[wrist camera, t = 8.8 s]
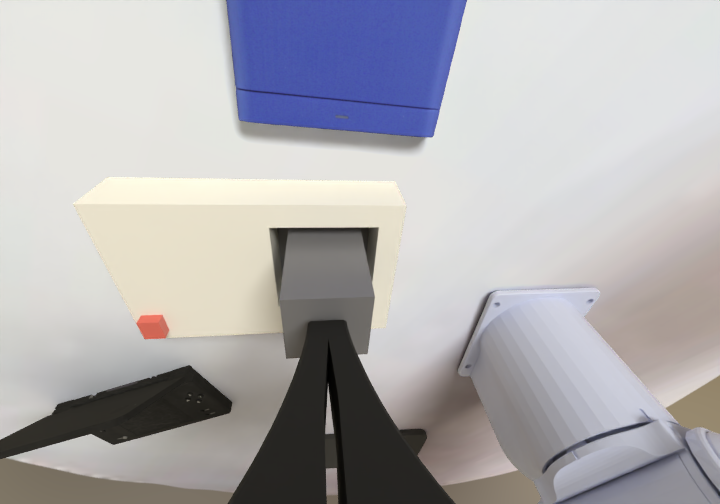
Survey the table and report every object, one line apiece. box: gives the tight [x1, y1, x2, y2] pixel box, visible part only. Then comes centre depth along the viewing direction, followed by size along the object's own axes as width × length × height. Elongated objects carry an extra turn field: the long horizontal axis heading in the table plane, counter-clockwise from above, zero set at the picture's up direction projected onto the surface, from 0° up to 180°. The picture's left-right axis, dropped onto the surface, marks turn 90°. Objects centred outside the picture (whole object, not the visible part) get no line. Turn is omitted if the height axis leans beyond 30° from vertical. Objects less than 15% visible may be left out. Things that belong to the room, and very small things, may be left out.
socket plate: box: [73, 177, 407, 339], centre depth 16 cm, size 8×13×3 cm, turn 87°
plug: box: [279, 227, 375, 358], centre depth 15 cm, size 3×3×6 cm
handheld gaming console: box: [0, 365, 232, 459], centre depth 22 cm, size 12×7×10 cm
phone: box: [325, 429, 427, 468], centre depth 34 cm, size 7×1×15 cm
